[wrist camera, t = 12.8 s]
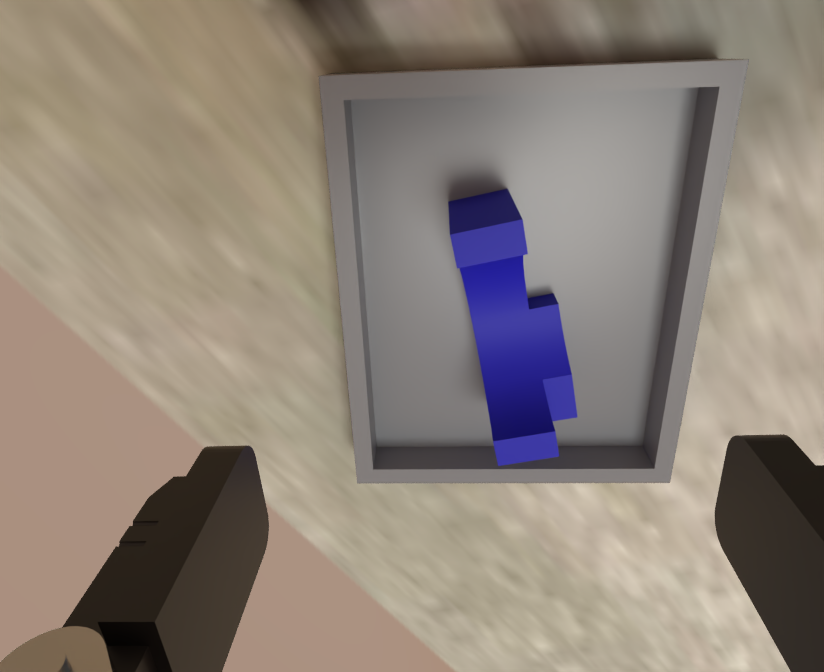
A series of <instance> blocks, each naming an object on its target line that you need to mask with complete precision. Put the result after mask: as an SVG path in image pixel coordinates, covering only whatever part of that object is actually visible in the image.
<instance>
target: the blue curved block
mask: <svg viewBox="0 0 824 672" xmlns="http://www.w3.org/2000/svg"><path fill="white" fill-rule="evenodd" d="M448 206H449V226H450V238H451V242H452V247H453V252H454V257H455V262H456V266H457V268H460V272H461V275H462V279H463V284H464V288H465V292H466V297H467V301H468V306H469V310H470V315H471V320H472V325H473V330H474V335H475V340H476V345H477V350H478V355H479V361H480V366H481V372H482V377H483V383H484V388H485V394H486V400H487V406H488V412H489V418H490V424H491V431H492V438H493V444H494V449H495V453H496V458H497V463H498V466H502V465H508V464H515V463H521V462H527V461H534V460H540V459H547V458H553V457H559V452H558V445H557V439H556V432H555V428H554V425H553V421H559V420H565V419H571V418H577V417H578V416H577V409H576V401H575V394H574V386H573V379H572V373H571V368H570V364H569V360H568V355H567V350H566V345H565V340H564V335H563V329H562V323H561V317H560V310H559V304H558V302H557V299H556V297H555V295H554V293H552V294H547V295H542V296H537V297H531V298H527V291H526V284H525V276H524V265H523V255H526V254H528V251H527V244H526V238H525V231H524V225H523V219H522V217H521V215H520V213H519V211H518V209H517V207H516V205H515V202H514V200H513V198H512V196H511V194H510V192H509V190H508V189H503V190H499V191H494V192H490V193H485V194H480V195H476V196H471V197H467V198H462V199H458V200H453V201H449V202H448Z"/></svg>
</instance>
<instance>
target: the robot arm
mask: <svg viewBox="0 0 824 672" xmlns="http://www.w3.org/2000/svg"><path fill="white" fill-rule="evenodd" d="M715 526H716V531H717V536H718V539H719V542H720V544H721V547H722V549H723V551H724V553H725V554H726V556H727V558H728V560H729V562H730V563H731V565H732V567H733V569H734V571H735V572H736V574H737V576H738V578H739V579H740V581H741V583H742V585H743V587H744V588H745V590H746V592H747V594H748V596H749V597H750V599H751V601H752V603H753V605H754V606H755V608H756V610H757V612H758V614H759V615H760V617H761V619H762V621H763V622H764V624H765V626H766V628H767V630H768V631H769V633H770V635H771V637H772V639H773V640H774V642H775V644H776V646H777V648H778V649H779V651H780V653H781V655H782V656H783V658H784V660H785V662H786V664H787V665H788V667H789V669H790V671H791V672H824V465H822V466H815V464H814V463H813V462H812V461H811V460H810V459H809V458H808V457H807V456H806V454H805V453H804V452H803V451H802V450H801V449H800V448H799V447H798V446H797V444H796V443H795V442H794V441H793V440H792V439H791V438H790V437H788V436H787V435H742V436H734V437H732V438H731V440H730V441H729V443H728V446H727V451H726V456H725V461H724V466H723V471H722V476H721V481H720V487H719V492H718V497H717V502H716V507H715ZM268 531H269V522H268V513H267V508H266V503H265V499H264V494H263V489H262V485H261V480H260V475H259V471H258V466H257V461H256V457H255V453H254V451H253V449H252V448H251V447H250V446H213V447H205V448H204V449H203V450H202V451H201V453H200V455H199V456H198V458H197V459H196V461H195V463H194V464H193V466H192V467H191V469H190V471H189V472H188V474H187V476H186V477H173V478H172V479H171V480H169V481H168V482H167V483H166V484H165V485H163V486H162V487H161V488H160V489H158V490H157V491H156V492H155V493H154V494H153V495H151V496H150V497H149V498H148V499H147V501H146V502H145V504H144V505H143V507H142V508H141V510H140V511H139V513H138V514H137V516H136V517H135V519H134V520H133V526H129V528H128V529H127V531H126V532H125V534H124V535H123V537H122V538H121V540H120V544H119V547H115V549H114V550H113V552H112V553H111V555H110V556H109V558H108V560H107V561H106V562H105V564H104V565H103V567H102V569H101V570H100V572H99V573H98V574H97V576H96V578H95V579H94V581H93V582H92V584H91V585H90V587H89V588H88V589H87V591H86V593H85V594H84V596H83V597H82V598H81V600H80V601H79V603H78V605H77V606H76V607H75V609H74V611H73V612H72V614H71V615H70V617H69V618H68V620H67V621H66V623H65V624H64V625H63V627H62V628H59V629H55V630H51V631H48V632H46V633H43V634H41V635H39V636H37V637H35V638H33V639H31V640H29V641H27V642H26V643H24V644H22V645H21V646H19V647H18V648H16V649H15V650H14V651H13V652H11V653H10V654H9V655H7V656H6V657H5V658H4V659H3V660H2V661H1V662H0V672H222V670H223V667H224V664H225V661H226V659H227V656H228V653H229V650H230V648H231V645H232V642H233V639H234V637H235V634H236V631H237V628H238V625H239V623H240V620H241V617H242V614H243V612H244V609H245V606H246V603H247V600H248V598H249V595H250V592H251V589H252V586H253V584H254V581H255V578H256V575H257V573H258V570H259V567H260V564H261V562H262V559H263V556H264V553H265V550H266V546H267V541H268Z"/></svg>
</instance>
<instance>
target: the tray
mask: <svg viewBox="0 0 824 672" xmlns="http://www.w3.org/2000/svg"><path fill="white" fill-rule="evenodd" d="M748 62H749V59H695V60H669V61H643V62H617V63H592V64H566V65H540V66H514V67H488V68H462V69H436V70H410V71H384V72H359V73H333V74H326V75H321V76H319V85H320V96H321V106H322V117H323V127H324V138H325V148H326V159H327V169H328V180H329V190H330V201H331V211H332V222H333V233H334V243H335V254H336V264H337V275H338V285H339V296H340V306H341V317H342V327H343V338H344V348H345V359H346V369H347V380H348V390H349V401H350V411H351V422H352V433H353V443H354V454H355V464H356V475H357V483H670V480H671V474H672V469H673V463H674V458H675V453H676V447H677V442H678V437H679V431H680V426H681V421H682V415H683V410H684V405H685V399H686V394H687V389H688V383H689V378H690V373H691V367H692V362H693V356H694V351H695V346H696V340H697V335H698V330H699V324H700V319H701V314H702V308H703V303H704V298H705V292H706V287H707V282H708V276H709V271H710V266H711V260H712V255H713V249H714V244H715V239H716V233H717V228H718V223H719V217H720V212H721V207H722V201H723V196H724V191H725V185H726V180H727V175H728V169H729V164H730V158H731V153H732V148H733V142H734V137H735V132H736V126H737V121H738V116H739V110H740V105H741V100H742V94H743V89H744V84H745V78H746V73H747V68H748ZM503 189H508V190H509V192H510V194H511V196H512V198H513V200H514V202H515V205H516V207H517V209H518V211H519V213H520V215H521V217H522V219H523V225H524V231H525V238H526V244H527V251H528V254H526V255H523V265H524V276H525V284H526V291H527V298H531V297H537V296H542V295H547V294H552V293H554V295H555V297H556V299H557V302H558V304H559V310H560V317H561V323H562V329H563V335H564V340H565V345H566V350H567V355H568V360H569V364H570V368H571V373H572V379H573V386H574V394H575V401H576V409H577V416H578V417H577V418H571V419H565V420H559V421H553V425H554V428H555V432H556V439H557V445H558V452H559V457H553V458H547V459H540V460H534V461H527V462H521V463H515V464H508V465H502V466H498V463H497V458H496V453H495V449H494V444H493V438H492V431H491V424H490V418H489V412H488V406H487V400H486V394H485V388H484V383H483V377H482V372H481V366H480V361H479V355H478V350H477V345H476V340H475V335H474V330H473V325H472V320H471V315H470V310H469V306H468V301H467V297H466V292H465V288H464V284H463V279H462V275H461V272H460V268H457V266H456V262H455V257H454V252H453V247H452V242H451V238H450V226H449V206H448V202H449V201H453V200H458V199H462V198H467V197H471V196H476V195H480V194H485V193H490V192H494V191H499V190H503Z"/></svg>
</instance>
